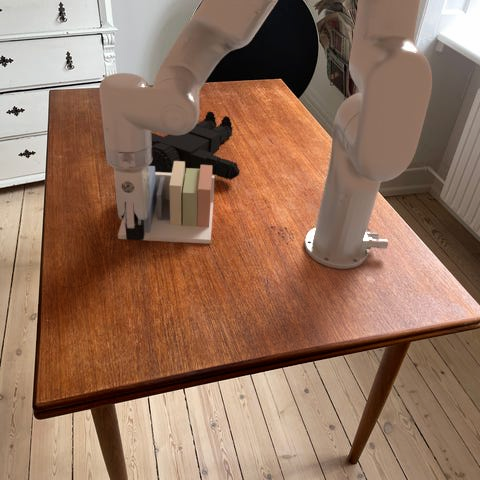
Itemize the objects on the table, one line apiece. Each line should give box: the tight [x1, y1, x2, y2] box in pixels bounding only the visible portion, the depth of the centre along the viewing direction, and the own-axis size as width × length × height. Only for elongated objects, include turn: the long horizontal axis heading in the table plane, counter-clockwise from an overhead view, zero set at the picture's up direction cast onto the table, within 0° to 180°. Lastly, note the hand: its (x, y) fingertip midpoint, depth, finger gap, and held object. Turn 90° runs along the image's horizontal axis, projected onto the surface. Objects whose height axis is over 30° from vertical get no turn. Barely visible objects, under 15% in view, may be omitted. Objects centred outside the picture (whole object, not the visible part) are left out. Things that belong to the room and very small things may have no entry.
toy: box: [148, 110, 241, 181], centre depth 121 cm, size 33×8×30 cm
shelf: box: [117, 161, 215, 245], centre depth 99 cm, size 18×14×10 cm
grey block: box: [144, 166, 156, 233], centre depth 99 cm, size 4×11×8 cm, turn 1°
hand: (135, 237), depth 94 cm, fingers closed
